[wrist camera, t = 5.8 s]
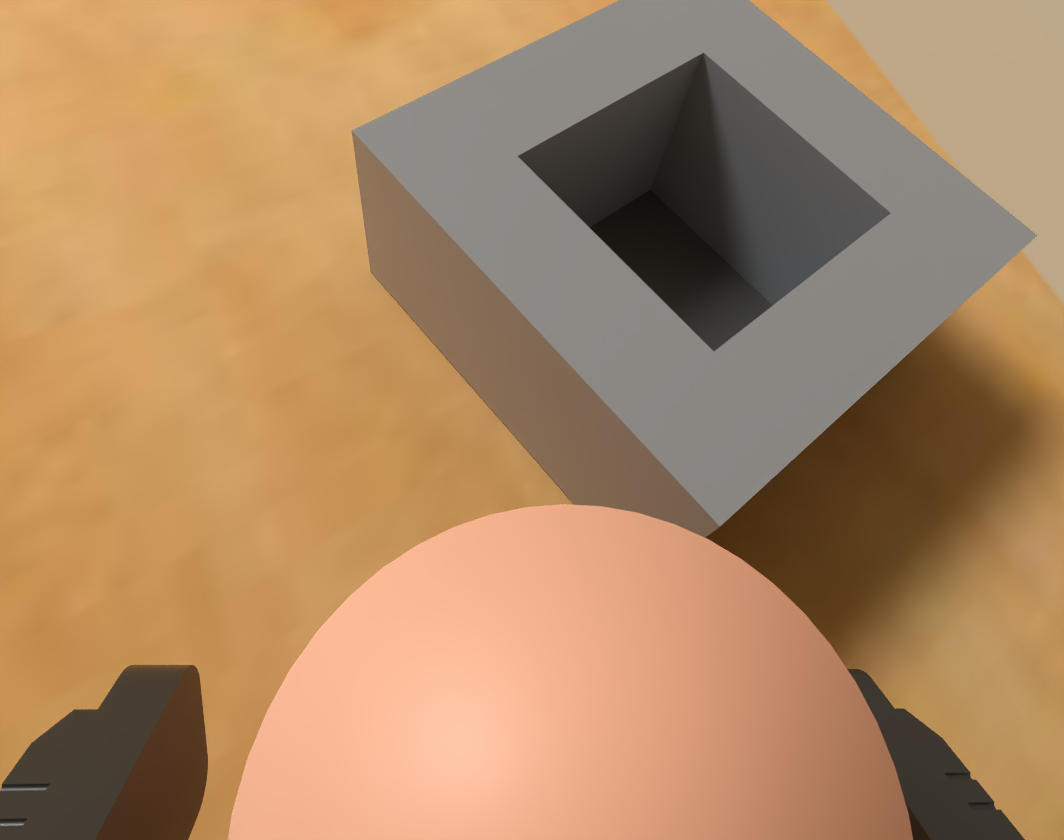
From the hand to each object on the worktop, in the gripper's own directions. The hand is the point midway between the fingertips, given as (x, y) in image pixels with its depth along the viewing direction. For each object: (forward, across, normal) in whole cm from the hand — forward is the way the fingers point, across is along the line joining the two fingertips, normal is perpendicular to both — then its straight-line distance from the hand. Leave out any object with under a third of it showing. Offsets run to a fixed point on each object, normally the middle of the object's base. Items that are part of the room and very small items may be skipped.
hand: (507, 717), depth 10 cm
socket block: (+12, -4, -3) cm, 13 cm away
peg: (+4, 0, +5) cm, 6 cm away
